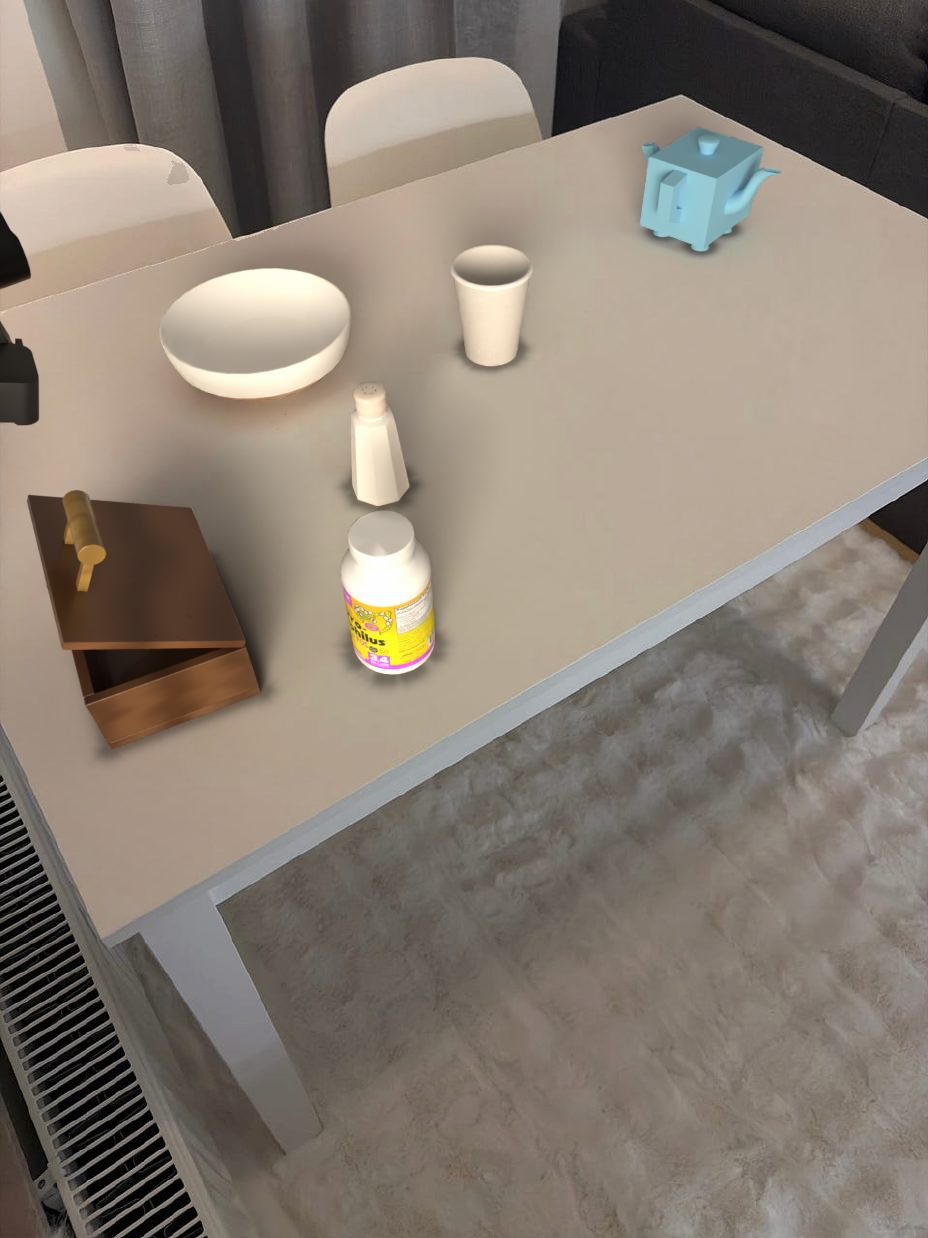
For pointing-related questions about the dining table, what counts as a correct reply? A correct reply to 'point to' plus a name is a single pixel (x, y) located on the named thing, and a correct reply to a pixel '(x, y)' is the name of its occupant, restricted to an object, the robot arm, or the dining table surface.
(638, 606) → the dining table surface
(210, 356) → the bowl
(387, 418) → the salt shaker
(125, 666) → the chest
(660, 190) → the teapot
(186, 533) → the lid
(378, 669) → the supplement bottle
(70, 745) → the dining table surface
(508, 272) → the dixie cup
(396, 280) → the dining table surface
